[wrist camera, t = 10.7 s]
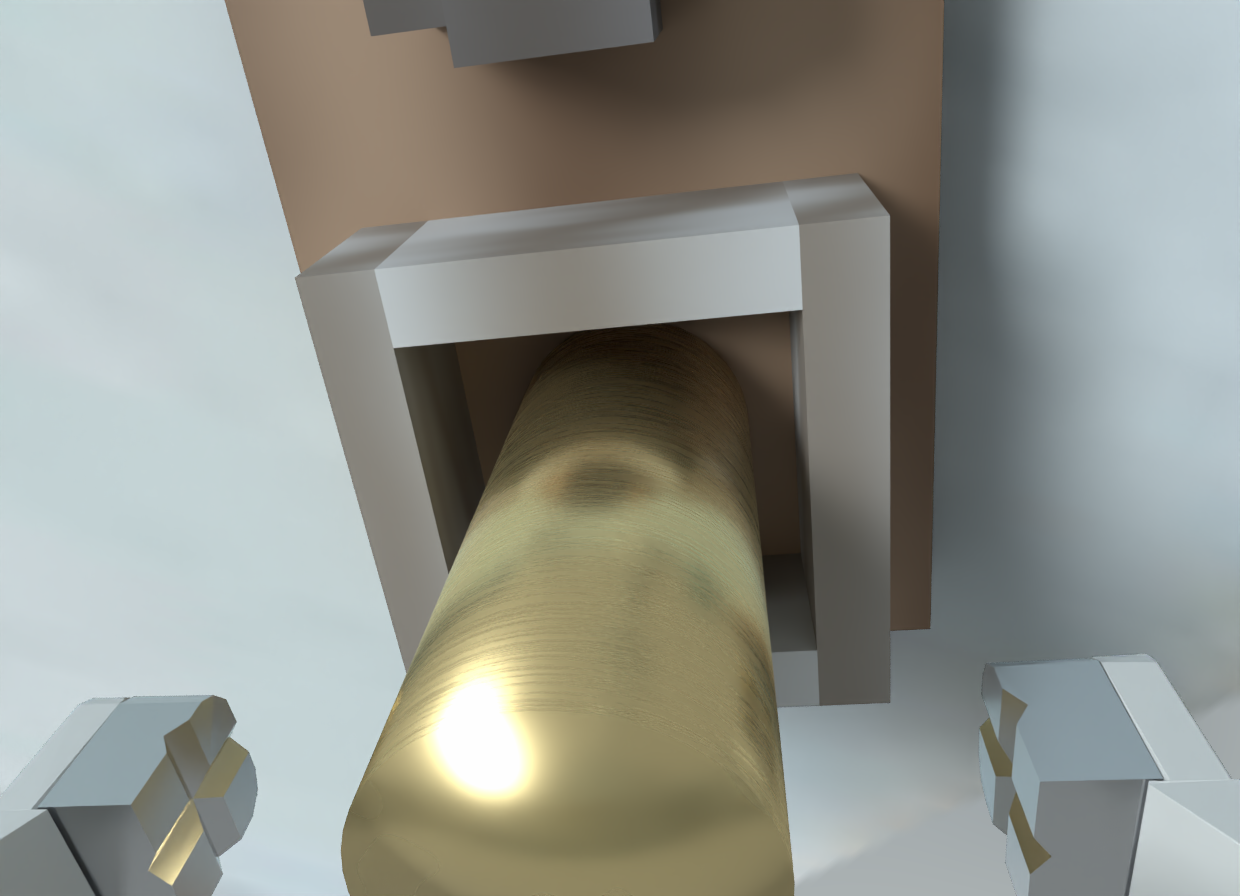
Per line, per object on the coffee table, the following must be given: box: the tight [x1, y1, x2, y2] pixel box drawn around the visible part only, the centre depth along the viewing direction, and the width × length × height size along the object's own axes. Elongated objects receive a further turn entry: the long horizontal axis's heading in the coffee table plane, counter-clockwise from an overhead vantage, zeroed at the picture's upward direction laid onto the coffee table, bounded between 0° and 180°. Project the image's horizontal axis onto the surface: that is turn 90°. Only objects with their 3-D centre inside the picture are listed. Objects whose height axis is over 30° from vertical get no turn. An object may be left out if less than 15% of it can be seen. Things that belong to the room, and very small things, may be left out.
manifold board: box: [225, 0, 944, 707], centre depth 15 cm, size 11×19×5 cm, turn 7°
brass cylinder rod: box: [341, 323, 794, 896], centre depth 13 cm, size 4×4×10 cm
